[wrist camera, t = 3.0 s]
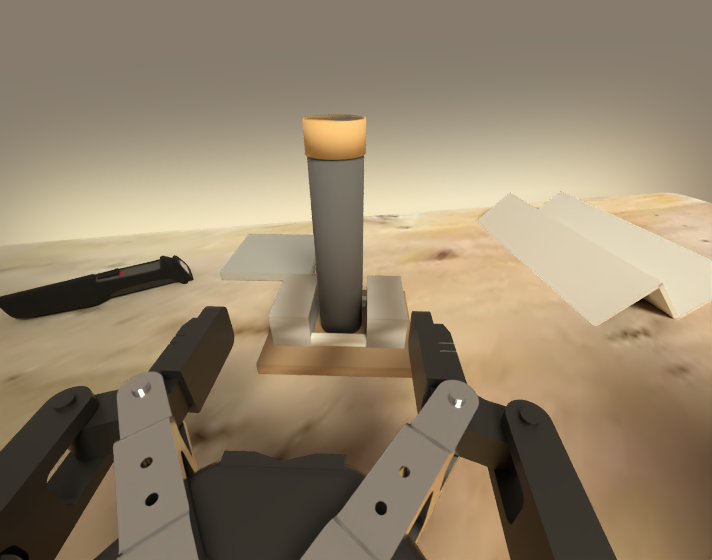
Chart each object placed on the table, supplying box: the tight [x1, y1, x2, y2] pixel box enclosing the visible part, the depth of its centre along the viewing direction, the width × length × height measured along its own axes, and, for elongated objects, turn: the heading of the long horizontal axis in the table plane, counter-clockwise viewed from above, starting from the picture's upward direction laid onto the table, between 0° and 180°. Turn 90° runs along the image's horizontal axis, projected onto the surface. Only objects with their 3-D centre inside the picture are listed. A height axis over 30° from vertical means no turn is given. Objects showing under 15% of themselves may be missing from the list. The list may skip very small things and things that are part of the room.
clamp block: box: [257, 274, 412, 377], centre depth 27 cm, size 12×10×4 cm
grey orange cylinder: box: [302, 115, 366, 334], centre depth 23 cm, size 4×4×16 cm
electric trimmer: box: [0, 255, 193, 319], centre depth 32 cm, size 4×16×3 cm, turn 121°
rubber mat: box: [220, 234, 316, 281], centre depth 39 cm, size 10×10×1 cm
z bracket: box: [476, 191, 712, 326], centre depth 39 cm, size 12×25×6 cm
